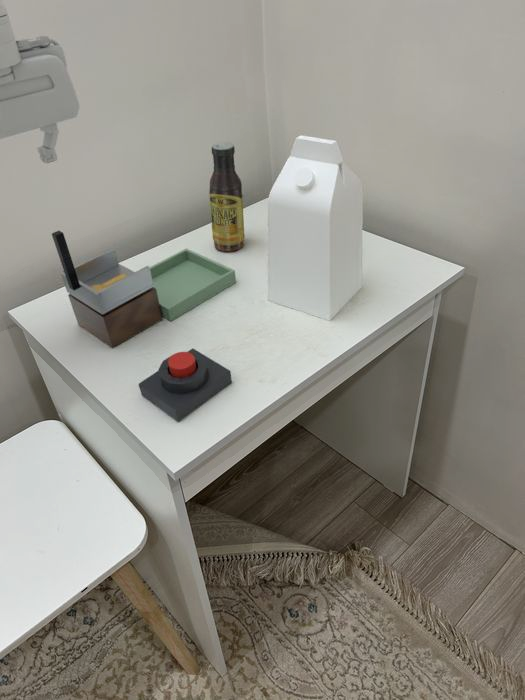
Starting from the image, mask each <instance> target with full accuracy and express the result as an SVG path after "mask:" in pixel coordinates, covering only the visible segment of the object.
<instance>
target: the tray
mask: <svg viewBox="0 0 525 700" xmlns="http://www.w3.org/2000/svg"><path fill="white" fill-rule="evenodd" d="M149 267H150V271H151V276H152V280H153V282H154V283H155V286H154V288H155V289H156V291H157V295H158V300H159V305H160V309H161V314H162V318H164V319H166V320H168V321H170V322H173V321H174V320H176V319H177V318H179V317H181V316H183V315H185V314H186V313H188V312H189V311H191V310H193V309H195V308H196V307H198V306H199V305H201V304H202V303H204V302H205V301H207V300H209V299H211V298H213V297H214V296H216V295H217V294H219V293H221V292H223V291H224V290H225V289H227V288H229V287H231V286H232V285H234V284H236V283H237V278H236V270H235V269H233V268H230V267H229V266H226V265H224V264H222V263H220V262H217V261H215V260H213V259H211V258H208V257H206V256H204V255H201V254H200V253H197V252H195V251H193V250H191V249H189V248H185V249H182V250H180V251H179V252H177V253H174V254H173V255H171V256H169V257H167V258H165V259H163V260H161V261H158V262H157V263H155V264H153V265H152V266H149Z"/></svg>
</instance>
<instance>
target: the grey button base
mask: <svg viewBox="0 0 525 700" xmlns="http://www.w3.org/2000/svg"><path fill="white" fill-rule="evenodd" d="M187 352H189V353H191V354H193V356H194V358H195V363H196V371H195V373H194V374H192V375H191V376H188V377H184V378H175V377H173V376H172V375H171V373H170V369H169V365H168V360H169V358H170V357H171V356H172V355H170V356H169V357H166V358H165V359H164V360H162V362H161V364H160V366H159V368H158V369H157V371H155V372H154V373H153V374H151V375H149V376H148V377H147V378H145V379H143V380H142V381H140V382H139V383H138V387H139V392H140V394H141V396H142V397H143V398H145V399H146V400H147V401H149V402H150V403H151V404H153V405H154V406H155V407H157V408H158V409H160V410H161V411H162V412H164V413H165V414H166V415H168V416H169V417H171V418H172V419H174V421H176V422H177V423H179V422H181V421H182V420H183V419H184V418H186V417H187V416H188V415H190V414H191V413H193V412H194V411H195V410H197V409H198V408H199V407H201V406H202V405H204V404H205V403H206V402H207V401H209V400H211V398H213V397H214V396H216V395H217V394H218V393H220V392H221V391H223V390H224V389H225V388H227V387H228V386H229V385H230V384H232V383H233V380H232V372H231V370H229V368H227V367H225V366H224V365H221V364H220V363H218V362H216V361H215V360H214V359H212V358H210V357H208V356H207V355H205V354H203V353H202V352H201V351H198V350H197V349H195V348H191V349H190V350H188V351H187Z"/></svg>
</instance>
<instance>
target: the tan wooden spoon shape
mask: <svg viewBox="0 0 525 700" xmlns="http://www.w3.org/2000/svg"><path fill="white" fill-rule="evenodd" d="M125 277H127V276H126V275H125V274H121V275H119V276H117V277H115V278H113V279H111V280H109V281H107V282H105V283H103V284H101V285H94V286H92V287H91V288H92V289H94V290H96V291H97V292H98V291H100V290H102V289H104V288H106V287H107V286H109V285H111V284H113V283H115V282H117V281H119V280H121V279H123V278H125Z"/></svg>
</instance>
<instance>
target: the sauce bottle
mask: <svg viewBox="0 0 525 700" xmlns="http://www.w3.org/2000/svg"><path fill="white" fill-rule="evenodd" d="M235 149H236V148H235V144H234V143H233V142H229V141H218V142H215V143H213V144H212V145H211V154H212V160H213V172H212V174H211V177H210V179H209V193H208V196H209V197H208V198H209V209H210V210H209V211H210V219H211V233H212V241H213V244H214V248H215V249H217V250H219V251H220V252H235V251H238V250H240V249H241V248H243V246H244V243H245V221H244V200H243V199H244V198H243V197H244V196H243V189H242V187H243V183H242V180H241V178H240V177H239V174H237V172H236V165H235V152H236V151H235Z"/></svg>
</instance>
